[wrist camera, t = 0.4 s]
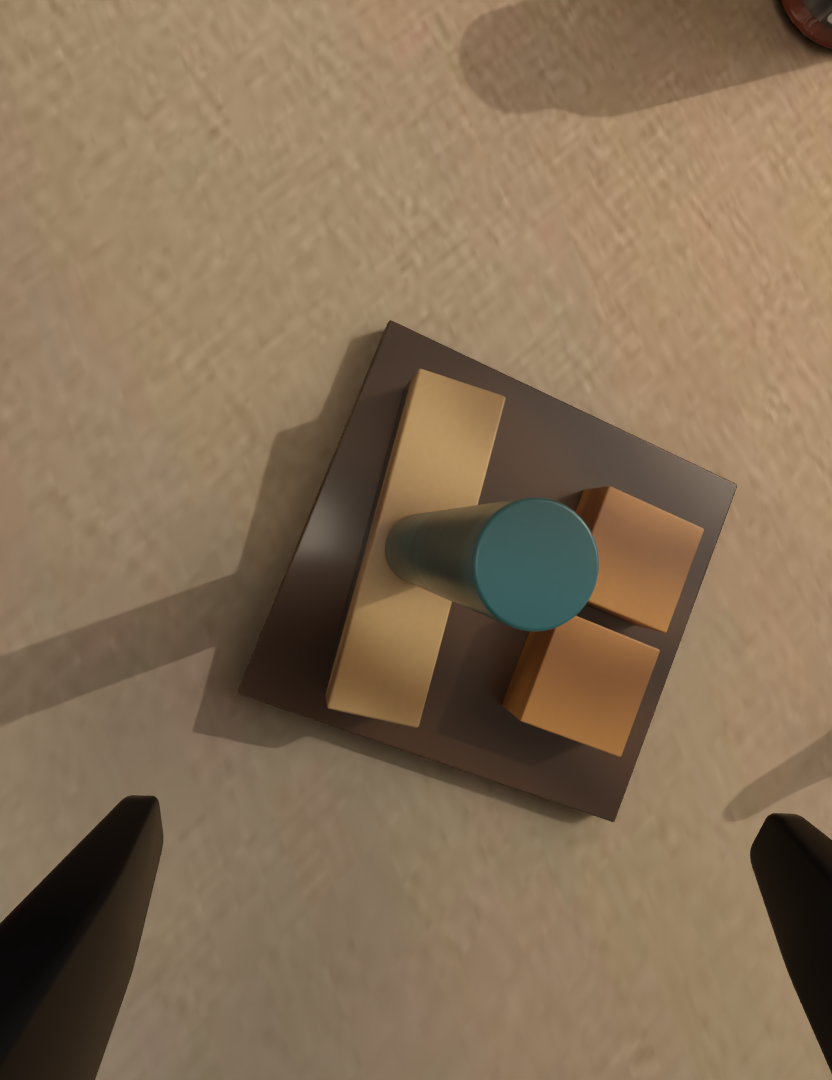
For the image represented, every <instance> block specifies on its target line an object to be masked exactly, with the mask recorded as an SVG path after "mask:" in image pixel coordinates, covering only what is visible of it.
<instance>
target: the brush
mask: <svg viewBox="0 0 832 1080" xmlns="http://www.w3.org/2000/svg"><path fill="white" fill-rule="evenodd" d="M505 400H506V398H505V397H504V396H502V395H499V394H496V393H493V392H490V391H487V390H484V389H481V388H478V387H475V386H472V385H469V384H466V383H463V382H460V381H457V380H454V379H451V378H448V377H445V376H442V375H439V374H436V373H433V372H430V371H426V370H423V369H419V370H418V371H417V373H416V374H415V375H414V377H413V378H412V379H411V380H410V382H409V383H408V384H407V385H406V387H405V389H404V392H403V396H402V400H401V403H400V407H399V411H398V414H397V418H396V422H395V425H394V429H393V433H392V436H391V440H390V444H389V447H388V451H387V455H386V458H385V462H384V466H383V470H382V473H381V477H380V481H379V484H378V488H377V492H376V495H375V499H374V503H373V506H372V510H371V514H370V517H369V521H368V525H367V528H366V532H365V536H364V539H363V543H362V547H361V550H360V554H359V558H358V561H357V565H356V569H355V572H354V576H353V580H352V583H351V587H350V591H349V595H348V598H347V602H346V606H345V609H344V613H343V617H342V620H341V624H340V628H339V631H338V635H337V639H336V642H335V646H334V650H333V653H332V657H331V661H330V664H329V668H328V672H327V675H326V679H325V683H324V686H323V688H324V693H325V698H326V703H327V708H329V709H332V710H337V711H341V712H346V713H350V714H355V715H360V716H364V717H369V718H373V719H378V720H382V721H387V722H392V723H396V724H401V725H405V726H410V727H414V728H417V727H418V726H419V724H420V720H421V716H422V713H423V709H424V705H425V701H426V698H427V694H428V690H429V686H430V682H431V679H432V675H433V671H434V667H435V664H436V660H437V656H438V652H439V649H440V645H441V641H442V637H443V634H444V630H445V626H446V622H447V618H448V615H449V611H450V607H451V603H452V602H454V603H457V604H459V605H461V606H464V607H466V608H468V609H471V610H473V611H475V612H477V613H480V614H482V615H484V616H487V617H489V618H491V619H493V620H496V621H498V622H500V623H503V624H505V625H507V626H509V627H512V628H515V629H518V630H522V631H529V632H539V631H546V630H550V629H554V628H556V627H559V626H561V625H563V624H565V623H566V622H568V621H569V620H571V619H572V618H573V617H575V616H576V615H577V614H578V613H579V612H580V611H581V610H582V609H583V607H584V606H585V605H586V603H587V602H588V600H589V599H590V597H591V595H592V593H593V591H594V588H595V585H596V582H597V577H598V570H599V557H598V550H597V546H596V543H595V539H594V537H593V535H592V533H591V531H590V529H589V528H588V526H587V524H586V523H585V522H584V521H583V519H582V518H581V517H580V516H579V515H578V514H577V513H576V512H575V511H573V510H572V509H571V508H569V507H568V506H566V505H564V504H562V503H560V502H558V501H555V500H552V499H548V498H541V497H530V498H522V499H515V500H508V501H502V502H495V503H488V504H481V505H478V502H479V498H480V494H481V490H482V487H483V483H484V479H485V475H486V472H487V468H488V464H489V460H490V457H491V453H492V449H493V445H494V441H495V438H496V434H497V430H498V426H499V423H500V419H501V415H502V411H503V408H504V404H505Z"/></svg>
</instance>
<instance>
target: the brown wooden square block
mask: <svg viewBox="0 0 832 1080" xmlns="http://www.w3.org/2000/svg"><path fill="white" fill-rule="evenodd" d="M659 652H660V650H659V649H657V648H654V647H652V646H650V645H647V644H645V643H642V642H640V641H637V640H635V639H632V638H630V637H627V636H625V635H622V634H620V633H618V632H615V631H613V630H610V629H608V628H605V627H603V626H600V625H598V624H595V623H593V622H590V621H588V620H586V619H583V618H581V617H578V616H575V617H573V618H572V619H571V620H569V621H568V622H566V623H565V624H563V625H561V626H559V627H556V628H554V629H550V630H546V631H539V632H529V634H528V637H527V640H526V642H525V645H524V648H523V650H522V653H521V655H520V658H519V661H518V663H517V666H516V668H515V671H514V674H513V676H512V679H511V682H510V684H509V687H508V689H507V692H506V695H505V697H504V700H503V703H502V706H503V707H504V708H505V709H507V710H508V711H509V712H510V713H512V714H513V715H514V716H515V717H516V718H518V719H519V720H520V721H522V722H524V723H527V724H530V725H533V726H535V727H538V728H541V729H544V730H546V731H549V732H552V733H554V734H557V735H560V736H563V737H565V738H568V739H571V740H574V741H576V742H579V743H582V744H585V745H587V746H590V747H593V748H596V749H598V750H601V751H604V752H607V753H609V754H612V755H615V756H618V757H621V755H622V753H623V750H624V747H625V744H626V742H627V739H628V736H629V734H630V731H631V728H632V725H633V723H634V720H635V717H636V715H637V712H638V709H639V706H640V704H641V701H642V698H643V696H644V693H645V690H646V687H647V685H648V682H649V679H650V677H651V674H652V671H653V668H654V666H655V663H656V660H657V658H658V655H659Z"/></svg>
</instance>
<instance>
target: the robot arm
mask: <svg viewBox="0 0 832 1080" xmlns="http://www.w3.org/2000/svg"><path fill="white" fill-rule="evenodd" d="M162 846H163V829H162V821H161V813H160V806H159V801H158V799H157V798H156V797H155V796H139V795H131V796H127V797H125V798H124V799H123V800H121V801H120V802H119V803H118V804H117V805H116V806H115V807H114V808H113V809H112V811H111V812H110V813H109V814H108V815H107V816H106V817H105V818H104V819H103V820H102V821H101V822H100V823H99V824H98V825H97V826H96V827H95V828H94V829H93V830H92V831H91V832H90V833H89V834H88V835H87V836H86V837H85V838H84V839H83V840H82V841H81V842H80V843H79V844H78V845H77V846H76V847H75V848H74V849H73V850H72V851H71V852H70V853H69V854H68V855H67V856H66V857H65V858H64V859H63V860H62V861H61V862H60V863H59V864H58V865H57V866H56V867H55V868H54V869H53V870H52V871H51V872H50V873H49V874H48V875H47V876H46V877H45V878H44V879H43V880H42V881H41V883H40V884H39V885H38V886H37V887H36V888H35V889H34V890H33V891H32V892H31V893H30V894H29V895H28V896H27V897H26V898H25V899H24V900H23V901H22V902H21V903H20V904H19V905H18V906H17V907H16V908H15V909H14V910H13V911H12V912H11V913H10V914H9V915H8V916H7V917H6V918H5V919H4V920H3V921H2V922H1V923H0V1080H95V1078H96V1075H97V1072H98V1069H99V1067H100V1064H101V1061H102V1058H103V1055H104V1052H105V1049H106V1047H107V1044H108V1041H109V1038H110V1035H111V1032H112V1029H113V1027H114V1024H115V1021H116V1018H117V1015H118V1012H119V1009H120V1007H121V1004H122V1001H123V998H124V995H125V992H126V989H127V986H128V983H129V980H130V977H131V974H132V971H133V967H134V963H135V960H136V956H137V952H138V948H139V944H140V940H141V936H142V931H143V927H144V923H145V919H146V915H147V911H148V906H149V902H150V898H151V894H152V890H153V886H154V881H155V877H156V873H157V869H158V865H159V861H160V856H161V852H162ZM750 859H751V864H752V868H753V871H754V873H755V876H756V879H757V882H758V885H759V888H760V891H761V894H762V897H763V900H764V903H765V906H766V909H767V912H768V915H769V918H770V921H771V924H772V927H773V930H774V933H775V936H776V939H777V942H778V945H779V948H780V951H781V954H782V957H783V960H784V962H785V965H786V968H787V970H788V973H789V976H790V978H791V980H792V983H793V985H794V988H795V990H796V992H797V995H798V997H799V999H800V1002H801V1004H802V1006H803V1009H804V1011H805V1013H806V1015H807V1018H808V1020H809V1022H810V1025H811V1027H812V1029H813V1032H814V1034H815V1036H816V1038H817V1041H818V1043H819V1045H820V1048H821V1050H822V1052H823V1054H824V1057H825V1059H826V1061H827V1064H828V1066H829V1068H830V1071H831V1073H832V840H831V839H830V838H828V837H827V836H826V835H825V834H823V833H822V832H821V831H820V830H818V829H817V828H816V827H815V826H813V825H812V824H811V823H809V822H808V821H807V820H806V819H804V818H803V817H801V816H799V815H796V814H785V813H773V814H771V815H769V816H768V817H767V818H766V819H765V821H764V823H763V825H762V827H761V829H760V831H759V833H758V835H757V837H756V838H755V840H754V842H753V844H752V846H751V851H750Z"/></svg>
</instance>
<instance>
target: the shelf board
mask: <svg viewBox="0 0 832 1080" xmlns="http://www.w3.org/2000/svg"><path fill="white" fill-rule="evenodd" d="M419 369H423V370H426V371H430V372H433V373H436V374H439V375H442V376H445V377H448V378H451V379H454V380H457V381H460V382H463V383H466V384H469V385H472V386H475V387H478V388H481V389H484V390H487V391H490V392H493V393H496V394H499V395H502V396H504V397H505V398H506V400H505V404H504V408H503V411H502V415H501V419H500V423H499V426H498V430H497V434H496V438H495V441H494V445H493V449H492V453H491V457H490V460H489V464H488V468H487V472H486V475H485V479H484V483H483V487H482V490H481V494H480V498H479V502H478V505H481V504H488V503H495V502H502V501H508V500H515V499H522V498H530V497H541V498H548V499H552V500H555V501H558V502H560V503H562V504H564V505H566V506H568V507H569V508H571V509H572V510H573V511H575V512H576V509H577V507H578V504H579V501H580V499H581V496H582V493H583V491H584V490H585V489H592V488H599V487H606V486H611V487H613V488H616V489H618V490H620V491H622V492H624V493H627V494H629V495H631V496H633V497H635V498H638V499H640V500H642V501H644V502H646V503H649V504H651V505H653V506H655V507H657V508H660V509H662V510H664V511H666V512H668V513H671V514H673V515H675V516H677V517H680V518H682V519H684V520H686V521H688V522H691V523H693V524H695V525H697V526H699V527H702V528H703V529H704V532H703V534H702V537H701V540H700V543H699V545H698V548H697V551H696V553H695V556H694V559H693V562H692V564H691V567H690V570H689V572H688V575H687V578H686V581H685V583H684V586H683V589H682V591H681V594H680V597H679V600H678V602H677V605H676V608H675V610H674V613H673V616H672V619H671V621H670V624H669V627H668V629H667V632H666V633H662V632H658V631H654V630H651V629H647V628H643V627H640V626H636V625H634V624H631V623H629V622H626V621H624V620H621V619H619V618H617V617H614V616H612V615H609V614H607V613H604V612H602V611H600V610H597V609H595V608H592V607H590V606H587V605H585V606H584V607H583V609H582V610H581V611H580V612H579V613H578V614H577V615H576V616H578V617H581V618H583V619H586V620H588V621H590V622H593V623H595V624H598V625H600V626H603V627H605V628H608V629H610V630H613V631H615V632H618V633H620V634H622V635H625V636H627V637H630V638H632V639H635V640H637V641H640V642H642V643H645V644H647V645H650V646H652V647H654V648H657V649H659V650H660V652H659V655H658V658H657V660H656V663H655V666H654V668H653V671H652V674H651V677H650V679H649V682H648V685H647V687H646V690H645V693H644V696H643V698H642V701H641V704H640V706H639V709H638V712H637V715H636V717H635V720H634V723H633V725H632V728H631V731H630V734H629V736H628V739H627V742H626V744H625V747H624V750H623V753H622V755H621V757H618V756H615V755H612V754H609V753H607V752H604V751H601V750H598V749H596V748H593V747H590V746H587V745H585V744H582V743H579V742H576V741H574V740H571V739H568V738H565V737H563V736H560V735H557V734H554V733H552V732H549V731H546V730H544V729H541V728H538V727H535V726H533V725H530V724H527V723H524V722H522V721H520V720H519V719H518V718H516V717H515V716H514V715H513V714H512V713H510V712H509V711H508V710H507V709H505V708H504V707H503V706H502V703H503V700H504V697H505V695H506V692H507V689H508V687H509V684H510V682H511V679H512V676H513V674H514V671H515V668H516V666H517V663H518V661H519V658H520V655H521V653H522V650H523V648H524V645H525V642H526V640H527V637H528V634H529V631H522V630H518V629H515V628H512V627H509V626H507V625H505V624H503V623H500V622H498V621H496V620H493V619H491V618H489V617H487V616H484V615H482V614H480V613H477V612H475V611H473V610H471V609H468V608H466V607H464V606H461V605H459V604H457V603H454V602H452V603H451V607H450V611H449V615H448V618H447V622H446V626H445V630H444V634H443V637H442V641H441V645H440V649H439V652H438V656H437V660H436V664H435V667H434V671H433V675H432V679H431V682H430V686H429V690H428V694H427V698H426V701H425V705H424V709H423V713H422V716H421V720H420V724H419V726H418V727H417V728H414V727H410V726H405V725H401V724H396V723H392V722H387V721H382V720H378V719H373V718H369V717H364V716H360V715H355V714H350V713H346V712H341V711H337V710H332V709H329V708H327V703H326V698H325V693H324V688H323V686H324V683H325V679H326V675H327V672H328V668H329V664H330V661H331V657H332V653H333V650H334V646H335V642H336V639H337V635H338V631H339V628H340V624H341V620H342V617H343V613H344V609H345V606H346V602H347V598H348V595H349V591H350V587H351V583H352V580H353V576H354V572H355V569H356V565H357V561H358V558H359V554H360V550H361V547H362V543H363V539H364V536H365V532H366V528H367V525H368V521H369V517H370V514H371V510H372V506H373V503H374V499H375V495H376V492H377V488H378V484H379V481H380V477H381V473H382V470H383V466H384V462H385V458H386V455H387V451H388V447H389V444H390V440H391V436H392V433H393V429H394V425H395V422H396V418H397V414H398V411H399V407H400V403H401V400H402V396H403V392H404V389H405V387H406V385H407V384H408V383H409V382H410V380H411V379H412V378H413V377H414V375H415V374H416V373H417V371H418V370H419ZM736 488H737V484H735V483H733V482H731V481H729V480H727V479H725V478H722V477H720V476H718V475H716V474H714V473H712V472H710V471H708V470H706V469H703V468H701V467H699V466H697V465H695V464H693V463H691V462H689V461H687V460H684V459H682V458H680V457H678V456H676V455H674V454H672V453H670V452H668V451H665V450H663V449H661V448H659V447H657V446H655V445H653V444H651V443H649V442H647V441H644V440H642V439H640V438H638V437H636V436H634V435H632V434H630V433H628V432H625V431H623V430H621V429H619V428H617V427H615V426H613V425H611V424H609V423H606V422H604V421H602V420H600V419H598V418H596V417H594V416H592V415H590V414H587V413H585V412H583V411H581V410H579V409H577V408H575V407H573V406H571V405H568V404H566V403H564V402H562V401H560V400H558V399H556V398H554V397H552V396H550V395H547V394H545V393H543V392H541V391H539V390H537V389H535V388H533V387H531V386H528V385H526V384H524V383H522V382H520V381H518V380H516V379H514V378H512V377H509V376H507V375H505V374H503V373H501V372H499V371H497V370H495V369H493V368H490V367H488V366H486V365H484V364H482V363H480V362H478V361H476V360H474V359H471V358H469V357H467V356H465V355H463V354H461V353H459V352H457V351H455V350H453V349H450V348H448V347H446V346H444V345H442V344H440V343H438V342H436V341H434V340H431V339H429V338H427V337H425V336H423V335H421V334H419V333H417V332H415V331H412V330H410V329H408V328H406V327H404V326H402V325H400V324H398V323H396V322H393V321H391V320H390V321H389V322H388V324H387V326H386V328H385V331H384V333H383V335H382V338H381V340H380V343H379V345H378V348H377V350H376V353H375V355H374V358H373V360H372V362H371V365H370V367H369V370H368V372H367V375H366V377H365V380H364V382H363V384H362V387H361V389H360V392H359V394H358V397H357V399H356V402H355V404H354V406H353V409H352V411H351V414H350V416H349V419H348V421H347V424H346V426H345V429H344V431H343V433H342V436H341V438H340V441H339V443H338V446H337V448H336V451H335V453H334V455H333V458H332V460H331V463H330V465H329V468H328V470H327V473H326V475H325V477H324V480H323V482H322V485H321V487H320V490H319V492H318V495H317V497H316V500H315V502H314V504H313V507H312V509H311V512H310V514H309V517H308V519H307V522H306V524H305V526H304V529H303V531H302V534H301V536H300V539H299V541H298V544H297V546H296V548H295V551H294V553H293V556H292V558H291V561H290V563H289V566H288V568H287V571H286V573H285V575H284V578H283V580H282V583H281V585H280V588H279V590H278V593H277V595H276V597H275V600H274V602H273V605H272V607H271V610H270V612H269V615H268V617H267V619H266V622H265V624H264V627H263V629H262V632H261V634H260V637H259V639H258V641H257V644H256V646H255V649H254V651H253V654H252V656H251V659H250V661H249V664H248V666H247V668H246V671H245V673H244V676H243V678H242V681H241V683H240V686H239V689H238V694H240V695H243V696H246V697H249V698H252V699H255V700H258V701H261V702H264V703H267V704H270V705H273V706H275V707H278V708H281V709H284V710H287V711H290V712H293V713H296V714H299V715H302V716H305V717H308V718H311V719H313V720H316V721H319V722H322V723H325V724H328V725H331V726H334V727H337V728H340V729H343V730H346V731H348V732H351V733H354V734H357V735H360V736H363V737H366V738H369V739H372V740H375V741H378V742H381V743H383V744H386V745H389V746H392V747H395V748H398V749H401V750H404V751H407V752H410V753H413V754H416V755H419V756H421V757H424V758H427V759H430V760H433V761H436V762H439V763H442V764H445V765H448V766H451V767H454V768H456V769H459V770H462V771H465V772H468V773H471V774H474V775H477V776H480V777H483V778H486V779H489V780H492V781H494V782H497V783H500V784H503V785H506V786H509V787H512V788H515V789H518V790H521V791H524V792H527V793H529V794H532V795H535V796H538V797H541V798H544V799H547V800H550V801H553V802H556V803H559V804H562V805H565V806H567V807H570V808H573V809H576V810H579V811H582V812H585V813H588V814H591V815H594V816H597V817H600V818H602V819H605V820H608V821H611V822H614V821H615V818H616V816H617V813H618V810H619V807H620V805H621V802H622V799H623V796H624V794H625V791H626V788H627V786H628V783H629V780H630V777H631V775H632V772H633V769H634V766H635V764H636V761H637V758H638V755H639V753H640V750H641V747H642V745H643V742H644V739H645V736H646V734H647V731H648V728H649V725H650V723H651V720H652V717H653V715H654V712H655V709H656V706H657V704H658V701H659V698H660V695H661V693H662V690H663V687H664V685H665V682H666V679H667V676H668V674H669V671H670V668H671V665H672V663H673V660H674V657H675V655H676V652H677V649H678V646H679V644H680V641H681V638H682V635H683V633H684V630H685V627H686V624H687V622H688V619H689V616H690V614H691V611H692V608H693V605H694V603H695V600H696V597H697V594H698V592H699V589H700V586H701V584H702V581H703V578H704V575H705V573H706V570H707V567H708V564H709V562H710V559H711V556H712V554H713V551H714V548H715V545H716V543H717V540H718V537H719V534H720V532H721V529H722V526H723V524H724V521H725V518H726V515H727V513H728V510H729V507H730V504H731V502H732V499H733V496H734V493H735V491H736Z"/></svg>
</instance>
